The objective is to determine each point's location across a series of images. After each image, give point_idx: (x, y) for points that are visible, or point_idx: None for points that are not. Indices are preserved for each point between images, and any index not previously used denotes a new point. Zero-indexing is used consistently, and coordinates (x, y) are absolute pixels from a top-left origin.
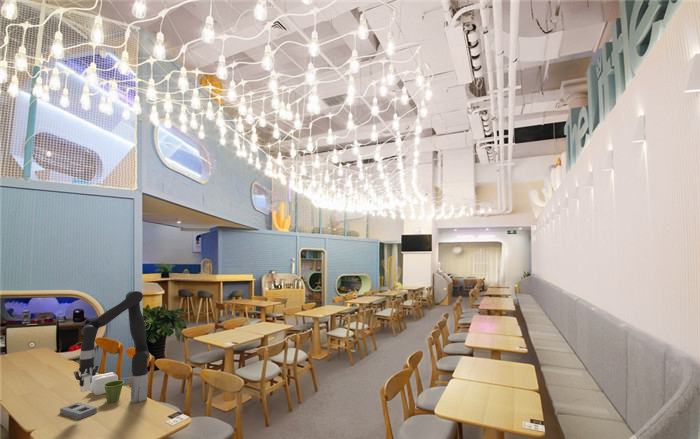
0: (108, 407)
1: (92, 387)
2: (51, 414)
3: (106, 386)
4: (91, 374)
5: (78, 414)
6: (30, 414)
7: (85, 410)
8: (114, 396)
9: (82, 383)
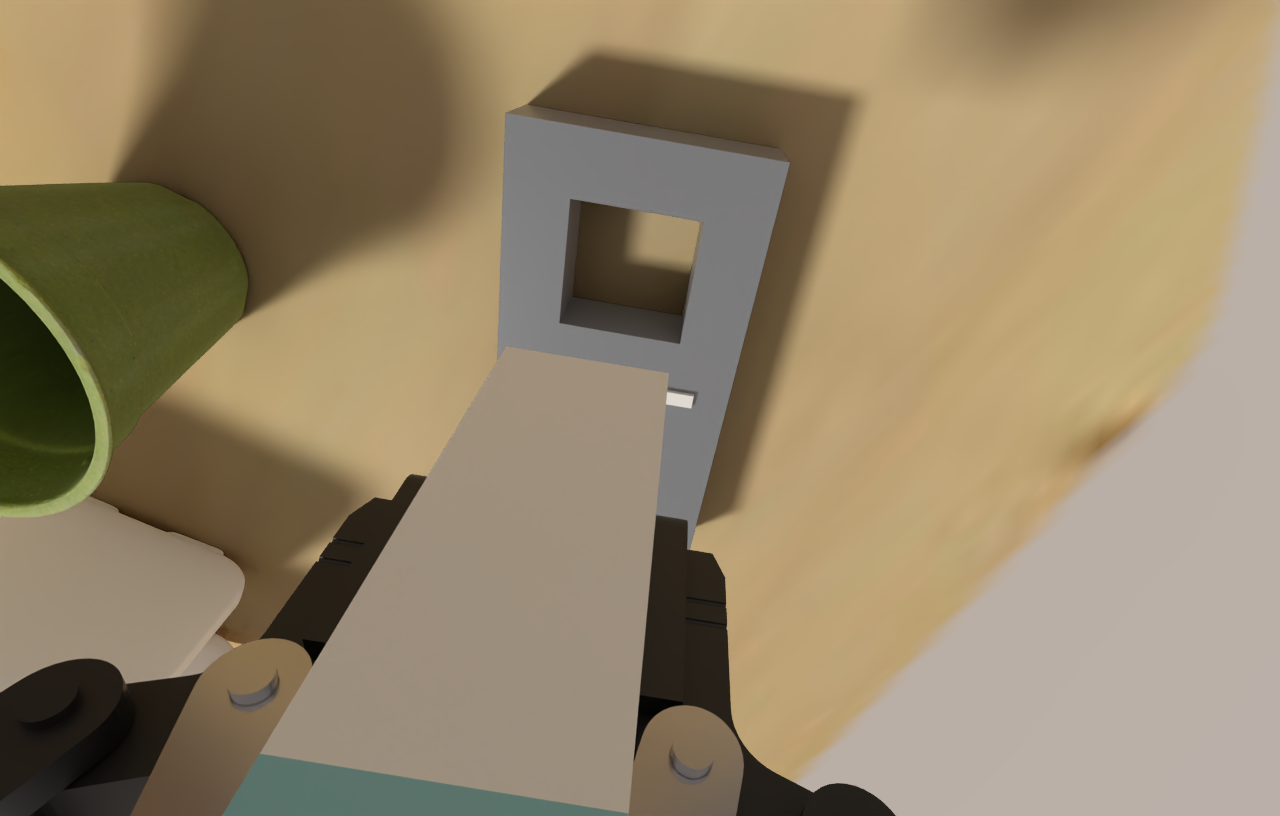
0: (335, 81)
1: None
2: None
3: (84, 379)
4: (169, 810)
5: (782, 189)
6: (757, 721)
7: (653, 201)
8: (124, 201)
9: (688, 590)
